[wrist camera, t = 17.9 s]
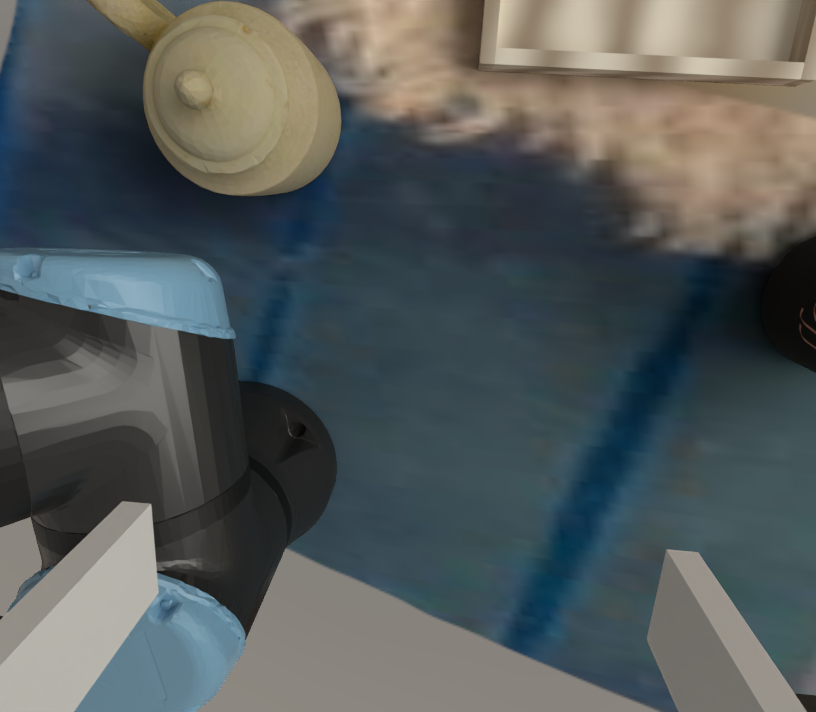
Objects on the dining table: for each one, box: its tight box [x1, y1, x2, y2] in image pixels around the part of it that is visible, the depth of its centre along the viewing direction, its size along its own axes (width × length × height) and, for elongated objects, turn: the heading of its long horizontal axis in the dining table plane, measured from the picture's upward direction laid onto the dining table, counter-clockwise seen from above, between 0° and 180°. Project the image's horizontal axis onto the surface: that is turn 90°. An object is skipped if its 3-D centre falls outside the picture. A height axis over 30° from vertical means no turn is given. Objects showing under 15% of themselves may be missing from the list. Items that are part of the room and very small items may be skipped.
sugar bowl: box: [87, 0, 341, 196], centre depth 35 cm, size 15×11×15 cm
